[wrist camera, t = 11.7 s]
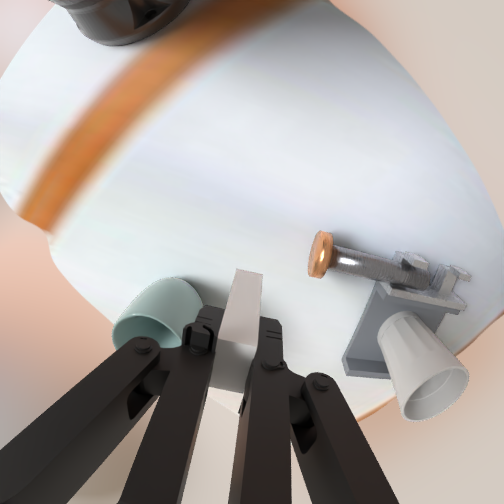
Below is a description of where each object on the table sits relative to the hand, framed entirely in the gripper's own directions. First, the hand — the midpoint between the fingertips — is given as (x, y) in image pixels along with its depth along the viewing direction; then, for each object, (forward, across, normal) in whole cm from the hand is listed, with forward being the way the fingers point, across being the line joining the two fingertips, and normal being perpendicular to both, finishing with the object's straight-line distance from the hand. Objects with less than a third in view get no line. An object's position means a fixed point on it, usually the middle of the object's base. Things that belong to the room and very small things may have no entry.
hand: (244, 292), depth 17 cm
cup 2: (+13, +21, -8) cm, 26 cm away
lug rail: (+14, +21, 0) cm, 25 cm away
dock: (+14, +21, -8) cm, 26 cm away
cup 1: (+14, -7, -10) cm, 19 cm away
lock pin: (+13, +12, 0) cm, 18 cm away
